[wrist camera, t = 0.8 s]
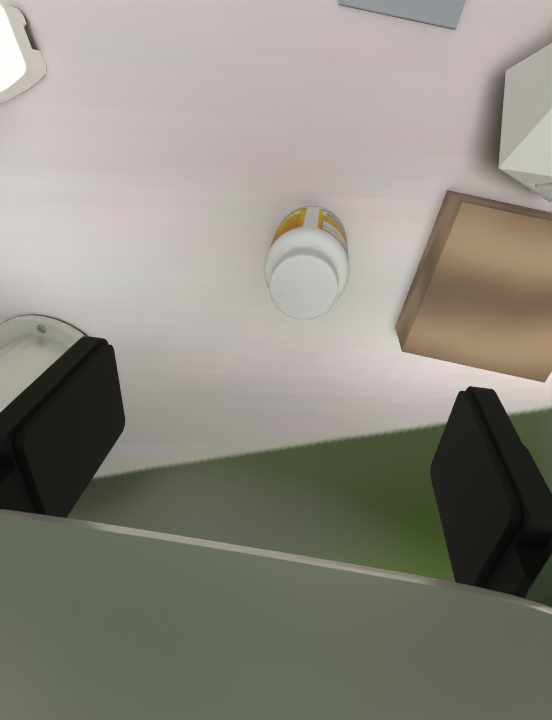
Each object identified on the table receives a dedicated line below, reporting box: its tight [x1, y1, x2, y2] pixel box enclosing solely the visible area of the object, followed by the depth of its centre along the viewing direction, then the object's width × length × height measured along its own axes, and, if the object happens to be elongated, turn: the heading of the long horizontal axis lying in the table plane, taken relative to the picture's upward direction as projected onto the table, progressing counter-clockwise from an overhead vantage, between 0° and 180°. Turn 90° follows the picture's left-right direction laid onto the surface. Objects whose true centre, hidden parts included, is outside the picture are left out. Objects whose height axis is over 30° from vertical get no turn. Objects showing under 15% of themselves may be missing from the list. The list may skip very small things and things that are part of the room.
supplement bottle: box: [264, 206, 349, 319], centre depth 28 cm, size 5×5×10 cm
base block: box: [396, 191, 552, 383], centre depth 31 cm, size 11×11×4 cm
